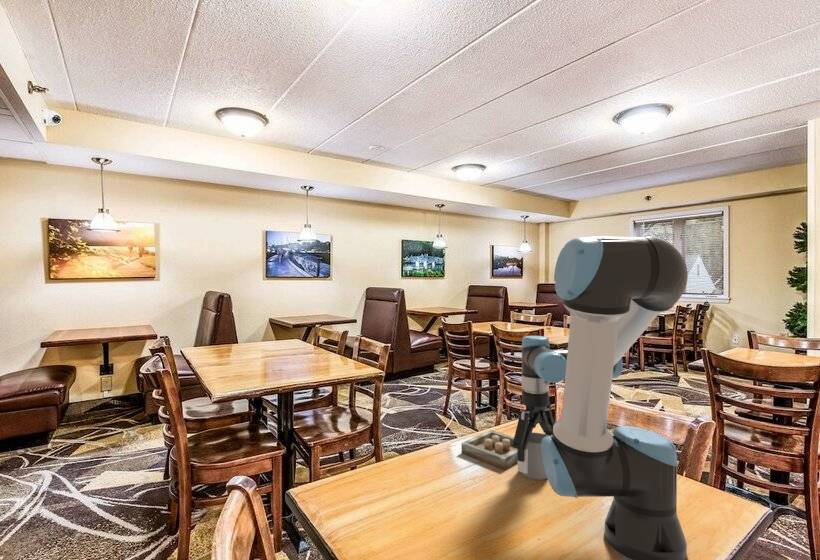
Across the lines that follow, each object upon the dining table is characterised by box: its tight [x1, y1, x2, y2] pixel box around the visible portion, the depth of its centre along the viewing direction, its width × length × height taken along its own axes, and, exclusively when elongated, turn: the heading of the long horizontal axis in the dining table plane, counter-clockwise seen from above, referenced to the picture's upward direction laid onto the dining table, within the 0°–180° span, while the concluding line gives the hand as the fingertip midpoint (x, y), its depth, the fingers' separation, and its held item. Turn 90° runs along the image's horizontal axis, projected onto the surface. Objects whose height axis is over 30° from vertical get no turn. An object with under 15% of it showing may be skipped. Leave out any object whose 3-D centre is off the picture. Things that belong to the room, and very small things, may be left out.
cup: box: [520, 431, 548, 481], centre depth 120 cm, size 8×8×10 cm
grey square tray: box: [461, 429, 518, 471], centre depth 132 cm, size 16×16×4 cm
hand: (535, 464), depth 120 cm, fingers open, 13 cm apart
